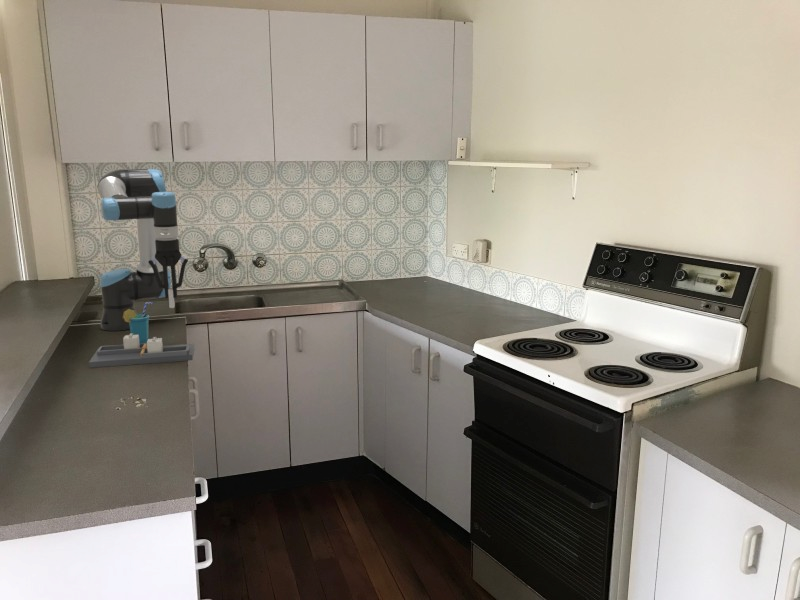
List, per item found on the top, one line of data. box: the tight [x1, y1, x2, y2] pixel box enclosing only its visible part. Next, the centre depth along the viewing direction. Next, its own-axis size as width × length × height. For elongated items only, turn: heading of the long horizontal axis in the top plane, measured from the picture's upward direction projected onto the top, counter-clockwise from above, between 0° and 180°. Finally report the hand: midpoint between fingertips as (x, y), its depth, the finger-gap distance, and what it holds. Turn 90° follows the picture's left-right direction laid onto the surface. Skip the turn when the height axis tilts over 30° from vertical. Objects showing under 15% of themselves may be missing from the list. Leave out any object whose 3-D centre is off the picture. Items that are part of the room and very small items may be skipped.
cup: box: [123, 301, 154, 344], centre depth 251 cm, size 14×8×15 cm, turn 157°
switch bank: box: [88, 343, 196, 369], centre depth 234 cm, size 14×33×4 cm, turn 104°
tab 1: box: [122, 332, 140, 349], centre depth 236 cm, size 4×4×6 cm
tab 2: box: [147, 336, 164, 353], centre depth 231 cm, size 4×4×6 cm
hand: (172, 306), depth 230 cm, fingers closed
